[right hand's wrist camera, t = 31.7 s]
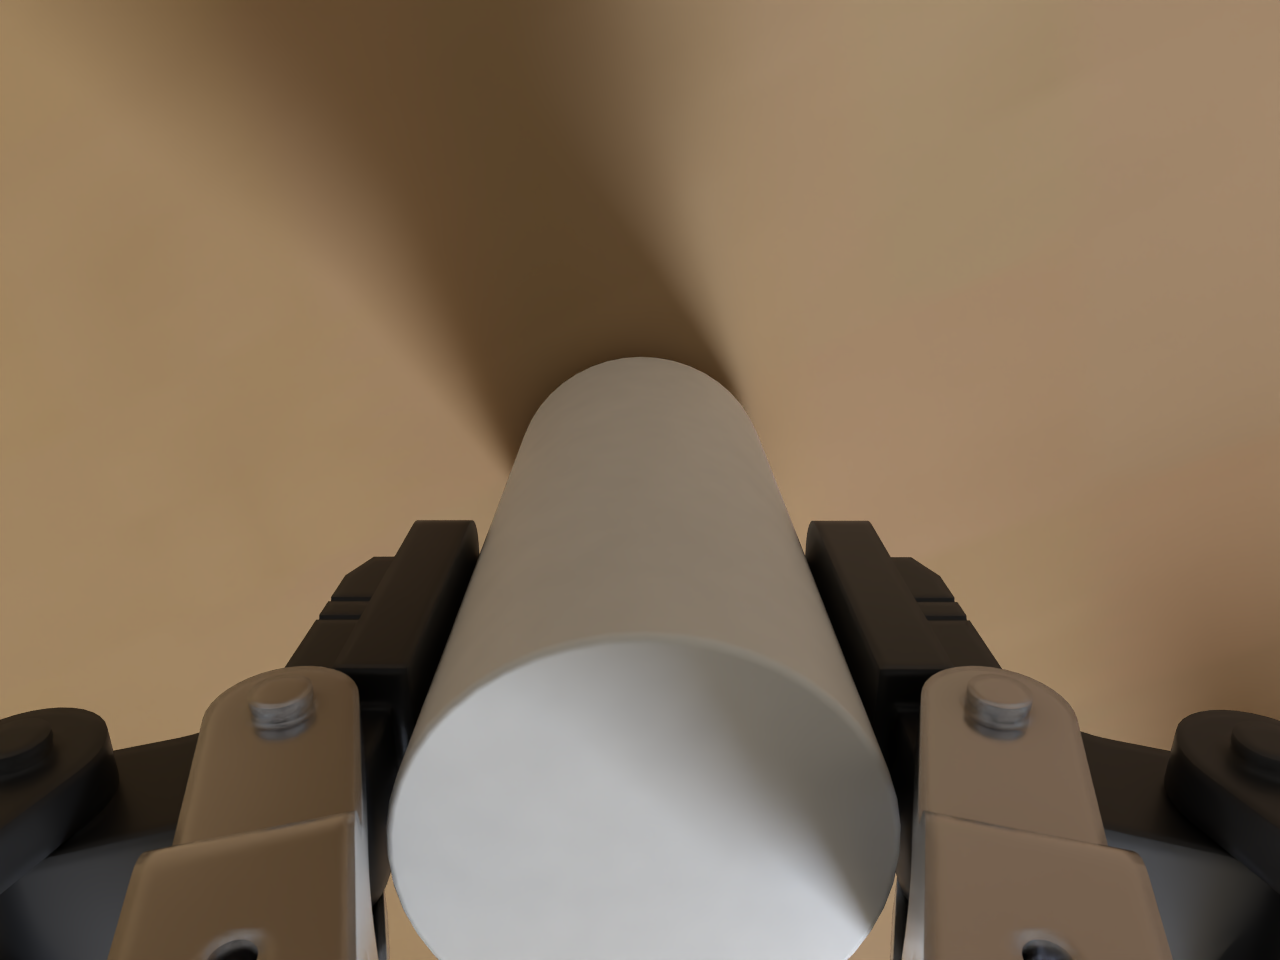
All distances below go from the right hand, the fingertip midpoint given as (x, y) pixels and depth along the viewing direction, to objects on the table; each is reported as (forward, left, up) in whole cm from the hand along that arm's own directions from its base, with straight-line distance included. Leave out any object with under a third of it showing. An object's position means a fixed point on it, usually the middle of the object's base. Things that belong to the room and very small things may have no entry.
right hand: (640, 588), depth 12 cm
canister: (0, 0, -4) cm, 4 cm away
